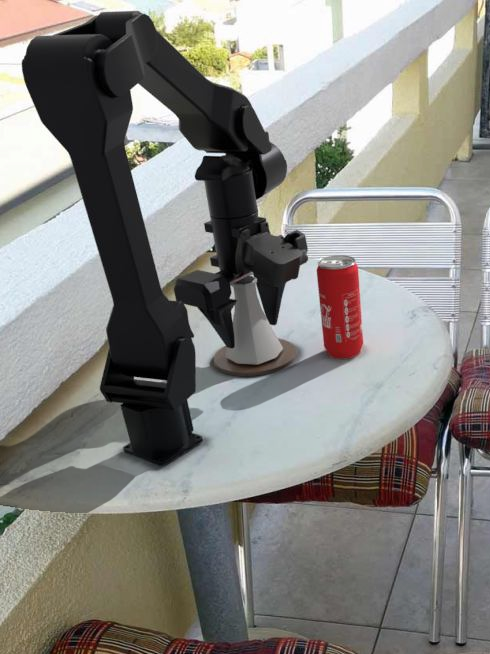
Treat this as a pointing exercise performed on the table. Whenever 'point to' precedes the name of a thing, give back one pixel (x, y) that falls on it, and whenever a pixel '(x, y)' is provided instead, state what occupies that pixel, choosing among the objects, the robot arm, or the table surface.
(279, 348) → the flask
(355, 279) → the beverage can
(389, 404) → the table surface
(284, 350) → the coaster
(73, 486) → the table surface
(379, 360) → the table surface
